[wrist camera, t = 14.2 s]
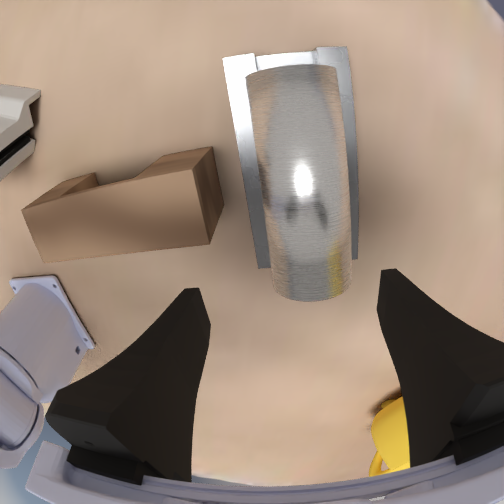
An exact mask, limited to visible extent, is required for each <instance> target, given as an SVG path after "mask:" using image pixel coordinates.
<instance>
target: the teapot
mask: <svg viewBox="0 0 504 504" xmlns="http://www.w3.org/2000/svg"><path fill="white" fill-rule="evenodd" d="M381 407H382V408H383V409H382V410H381V411H379V412H378V413H377V414H376V416H375V418H374V420H373V423H372V426H371V433H372V437H373V440H374V443H375V446H376V448H377V452H376V454H375V456H374V458H373V461H372V463H371V466H370V469H369V477H372V476H377V475H382V474H387V473H391V472H396V471H400V470H404V469H408V468H410V455H409V440H408V430H407V421H406V414H405V408H404V402H403V397H400V398H398V399H397V400H395V399H391V400H387V401H385V402H383V403H382V404H381ZM382 460H384V462H385V463H386V465H387V466H388V467H389V469H387V470H385V471H381V464H382Z"/></svg>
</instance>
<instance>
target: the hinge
mask: <svg viewBox="0 0 504 504" xmlns="http://www.w3.org/2000/svg"><path fill="white" fill-rule="evenodd" d="M40 96H41V90H38V89H32V88H26V87H19V86H12V85H4V84H0V181H1V180H2V179H3V178H4V177H6V176H7V175H8V174H9V173H10V172H11V171H12V170H13V169H14V168H16V167H17V166H18V165H19V164H20V163H21V162H23V161H24V160H25V159H26V158H27V157H29V156H30V155H31V154H32V153H33V152H34V149H35V140H34V139H31V138H30V137H29V136H25V135H26V134H27V133H28V132H29V129H30V128H31V127H33V122H32V118H31V113H30V109H29V105H30V104H31V103H32V102H34V101H35V100H36V99H38V98H39V97H40Z"/></svg>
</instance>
